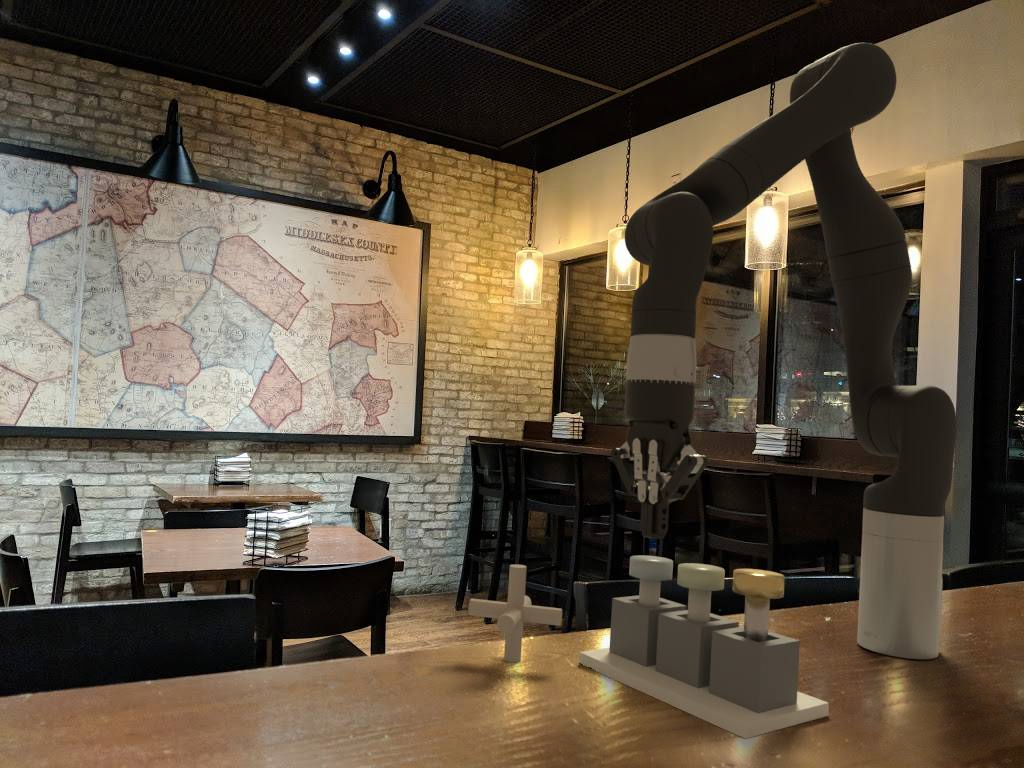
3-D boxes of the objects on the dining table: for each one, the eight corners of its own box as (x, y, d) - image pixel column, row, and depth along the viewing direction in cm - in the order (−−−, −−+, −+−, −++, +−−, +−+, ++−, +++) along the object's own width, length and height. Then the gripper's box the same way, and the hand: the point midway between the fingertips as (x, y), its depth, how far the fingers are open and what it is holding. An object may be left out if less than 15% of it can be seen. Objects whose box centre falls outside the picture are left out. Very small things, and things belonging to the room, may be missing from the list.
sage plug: (695, 641, 83) (699, 562, 84) (730, 654, 79) (734, 570, 80) (664, 646, 81) (668, 564, 81) (698, 659, 77) (703, 573, 77)
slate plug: (647, 629, 89) (651, 554, 89) (677, 639, 85) (682, 562, 86) (616, 633, 86) (621, 556, 87) (647, 644, 83) (651, 564, 83)
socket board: (658, 650, 92) (661, 590, 93) (828, 715, 74) (831, 640, 75) (579, 663, 85) (582, 597, 86) (745, 738, 67) (749, 655, 68)
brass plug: (750, 653, 78) (754, 567, 78) (790, 666, 74) (794, 577, 74) (718, 658, 75) (723, 570, 75) (759, 673, 71) (763, 580, 71)
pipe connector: (551, 680, 79) (557, 579, 80) (455, 667, 81) (461, 569, 82) (564, 652, 89) (569, 563, 90) (478, 641, 91) (484, 554, 92)
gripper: (731, 381, 84) (724, 546, 83) (642, 381, 94) (635, 527, 94) (682, 376, 79) (674, 550, 79) (595, 377, 90) (587, 530, 90)
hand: (653, 537), depth 86 cm, fingers closed
